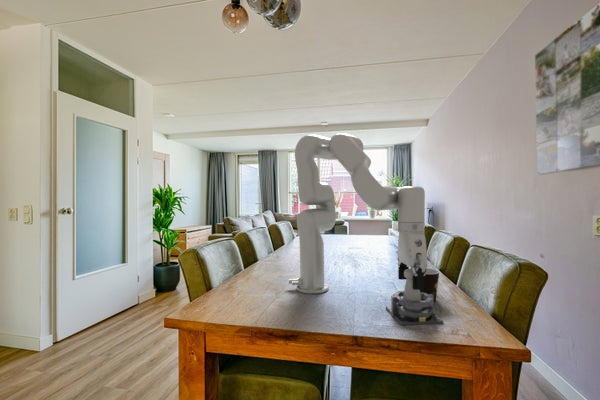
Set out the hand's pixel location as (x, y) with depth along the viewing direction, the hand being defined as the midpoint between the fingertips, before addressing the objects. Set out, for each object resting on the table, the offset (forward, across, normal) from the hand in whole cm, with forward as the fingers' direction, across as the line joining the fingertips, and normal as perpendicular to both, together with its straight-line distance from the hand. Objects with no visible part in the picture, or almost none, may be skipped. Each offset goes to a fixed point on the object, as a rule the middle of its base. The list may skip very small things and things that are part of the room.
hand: (410, 284), depth 87 cm
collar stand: (+9, 0, 0) cm, 9 cm away
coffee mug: (+10, +12, -12) cm, 20 cm away
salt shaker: (+9, 0, 0) cm, 9 cm away
